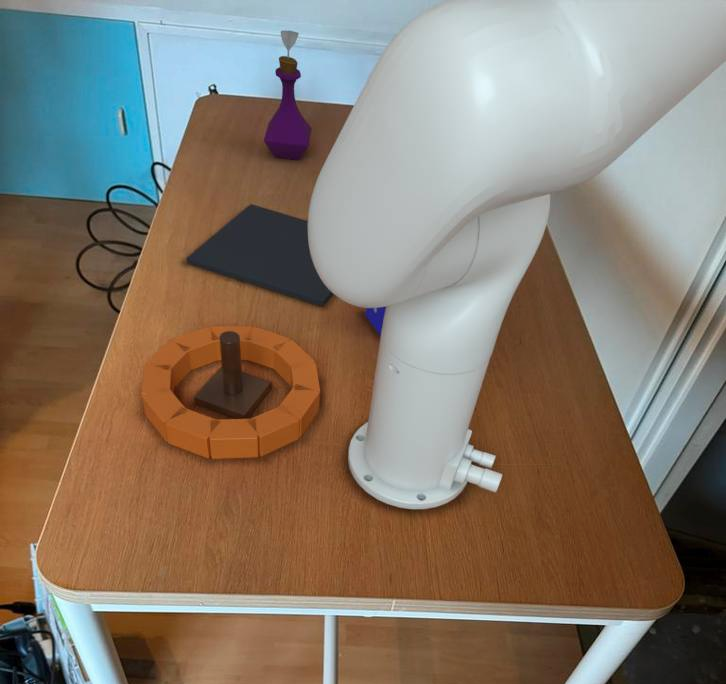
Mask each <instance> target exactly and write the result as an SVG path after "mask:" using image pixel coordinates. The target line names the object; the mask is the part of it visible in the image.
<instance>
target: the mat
mask: <svg viewBox="0 0 726 684" xmlns="http://www.w3.org/2000/svg"><path fill="white" fill-rule="evenodd" d="M185 260H186V264H188V265H190V266H195V267H198V268H201V269H204V270H207V271H210V272H213V273H216V274H219V275H222V276H226V277H229V278H231V279H236V280H238V281H241V282H244V283H247V284H250V285H254V286H256V287H259V288H262V289H266V290H269V291H272V292H276V293H279V294H282V295H285V296H288V297H292V298H294V299H298V300H300V301H304V302H306V303H310V304H313V305H316V306H320V307H324V306H325V304H326V303H327V302H328V301H329V300H330V299H331V298H332V296H333V295H334V294H333V293H332V292H331V291H330V290H329V289H328V288H327V287H326V286H325V284H324V283H323V282H322V280H321V279H320V277H319V275H318V273H317V271H316V269H315V267H314V264H313V261H312V258H311V254H310V249H309V243H308V220H307V219H303V218H299V217H296V216H292V215H289V214H285V213H281V212H279V211H275V210H272V209H270V208H265V207H261V206H258V205H256V204H252V203H250V204H249V205H247V206H246V207H245V209H242V211H240V212H239V213H238V214H237V215H236V216H234V217H233V218H232V219H231V220H230V221H229V222H227V223H226V224H225V225H224V226H223V227H221V228H220V229H219V230H218V231H216V233H214V234H213V235H212V236H210V238H208V239H207V240H206V241H205V242H203V243H202V244H201V245H200V246H199V247H197V248H196V249H195V250H194V251H193V252H192V253H190V254H189V255H188V256H187V257H186V259H185Z"/></svg>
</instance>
